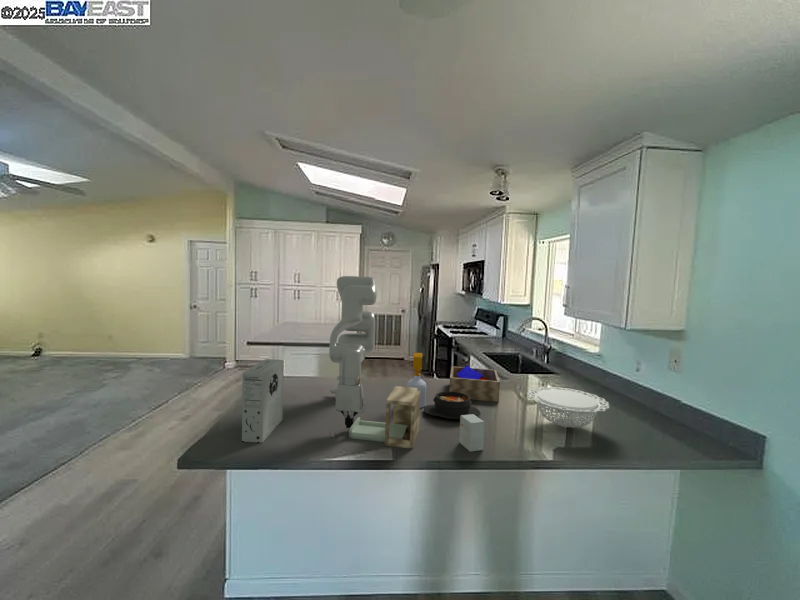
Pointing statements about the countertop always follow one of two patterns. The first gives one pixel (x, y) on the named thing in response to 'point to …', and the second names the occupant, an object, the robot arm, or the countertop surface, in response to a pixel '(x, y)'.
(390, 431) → the tray
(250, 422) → the cereal box
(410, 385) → the soap bottle
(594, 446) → the countertop surface
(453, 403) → the casserole
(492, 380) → the open wooden box
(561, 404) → the colander
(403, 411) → the shelf
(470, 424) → the small box
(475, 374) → the house
